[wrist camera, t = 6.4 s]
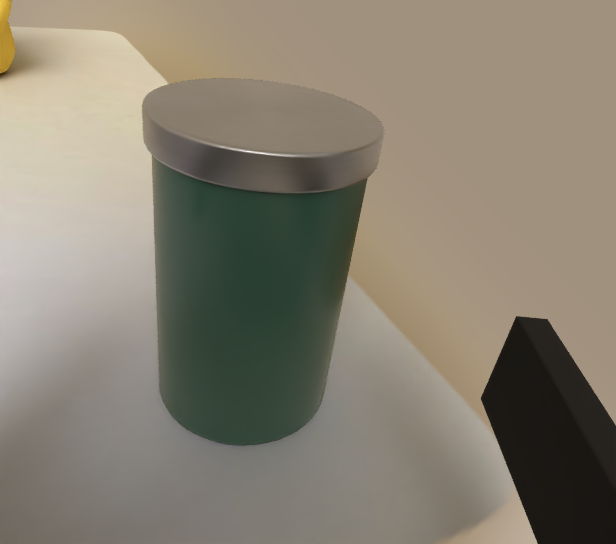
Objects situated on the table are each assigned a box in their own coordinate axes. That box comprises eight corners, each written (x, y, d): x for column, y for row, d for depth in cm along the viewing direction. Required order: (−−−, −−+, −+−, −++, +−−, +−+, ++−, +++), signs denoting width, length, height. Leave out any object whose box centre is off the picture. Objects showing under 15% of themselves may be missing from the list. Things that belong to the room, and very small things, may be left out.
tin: (364, 405, 19) (435, 139, 14) (203, 483, 16) (213, 168, 10) (270, 309, 23) (297, 75, 18) (126, 354, 20) (106, 80, 14)
